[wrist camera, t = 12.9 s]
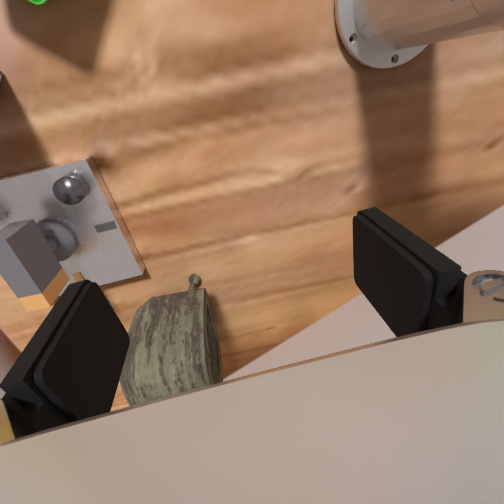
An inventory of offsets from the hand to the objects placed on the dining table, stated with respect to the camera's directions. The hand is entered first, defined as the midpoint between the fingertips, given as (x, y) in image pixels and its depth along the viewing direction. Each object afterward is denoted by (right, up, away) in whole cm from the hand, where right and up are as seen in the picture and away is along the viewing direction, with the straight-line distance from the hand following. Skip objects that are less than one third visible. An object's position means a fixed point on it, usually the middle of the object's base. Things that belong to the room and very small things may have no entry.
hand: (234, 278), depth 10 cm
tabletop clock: (-10, -8, +36) cm, 38 cm away
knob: (-24, +2, +25) cm, 35 cm away
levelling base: (-24, +4, +27) cm, 36 cm away
